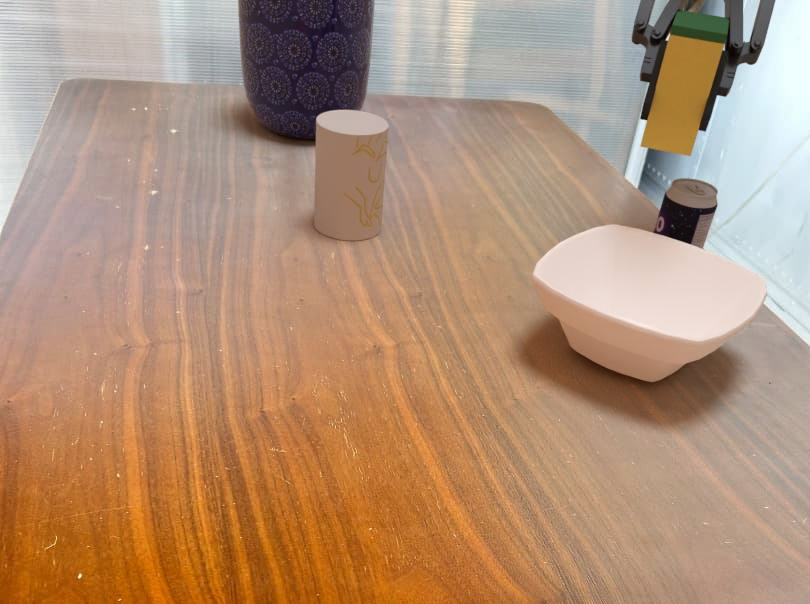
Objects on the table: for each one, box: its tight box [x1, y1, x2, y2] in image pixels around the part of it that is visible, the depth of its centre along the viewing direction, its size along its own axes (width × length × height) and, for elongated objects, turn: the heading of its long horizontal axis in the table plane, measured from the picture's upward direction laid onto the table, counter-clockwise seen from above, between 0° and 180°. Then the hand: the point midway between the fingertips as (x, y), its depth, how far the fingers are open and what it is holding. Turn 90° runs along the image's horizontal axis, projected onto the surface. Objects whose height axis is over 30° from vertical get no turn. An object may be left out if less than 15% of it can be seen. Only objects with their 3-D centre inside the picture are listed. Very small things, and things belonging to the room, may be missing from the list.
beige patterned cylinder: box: [313, 110, 390, 242], centre depth 103 cm, size 8×8×12 cm
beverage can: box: [652, 177, 719, 249], centre depth 98 cm, size 6×6×12 cm
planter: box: [237, 0, 375, 140], centre depth 124 cm, size 18×18×21 cm
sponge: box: [640, 9, 729, 157], centre depth 86 cm, size 5×7×11 cm
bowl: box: [530, 223, 768, 383], centre depth 88 cm, size 21×21×9 cm
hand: (674, 117), depth 85 cm, fingers closed on sponge, 5 cm apart
